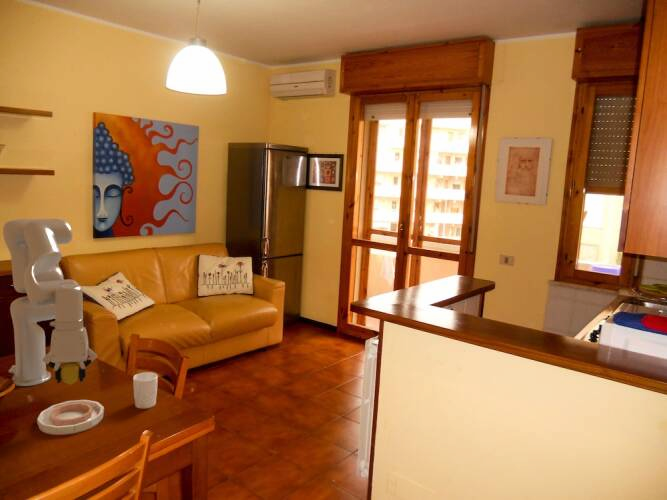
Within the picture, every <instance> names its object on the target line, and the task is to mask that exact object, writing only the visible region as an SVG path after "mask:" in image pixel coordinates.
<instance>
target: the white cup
mask: <svg viewBox="0 0 667 500" xmlns="http://www.w3.org/2000/svg"><path fill="white" fill-rule="evenodd" d="M158 377H159V375H158V374H157V373H156V372H154V371H153V372H152V371H151V372H150V371H146V372H145V371H144V372H140V373H136V374H135V375H134V376H133V377H132V380H133V381H132V382H133V396H134V406H135V408H137V409H150V408H152V407H155V406H156V404H157V395H158V394H157V393H158V382H159V380H158Z"/></svg>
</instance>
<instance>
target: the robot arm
mask: <svg viewBox="0 0 667 500" xmlns="http://www.w3.org/2000/svg"><path fill="white" fill-rule="evenodd" d="M2 234H3V240H4V243H5V244H6V246H7V249H8V251H9V254H10V259H11V260H10V261H11V267H12V268H11V270H12V271H11V273H12V281H13V282H12V284H13V287H14V290H15V291H16V292H17V293H20V294H21V293H22V294H25V293H26V296H22V297H18V298H15V300H13V301H11V303H10V307H9V310H10V315H11V319H12V325H13V332H14V333H13V335H14V350H15V351H14V356H15V365H11V367H10V369H8V373H10V374H13V376H12V377H11V379H12V380H13V381H14V383H15V384H16V385H15V386H17V387H30V386H32V387H33V386H37V385H40V384H44V383H45V382H48V381H49V380H50V379H51V377H52V374H51V372H50V371H47V366H46V365H48V366H49V367H50V368H51V369H52V370H53V371H54V378H55V379H54V380H56V381H57V384H60V383H61V382H62V381H63V380H62V379H61V368H62V366H61V364H65V363H70V362H77V363H78V364H79V366H80V377H79V382H81V383H83V381H84V379H85V378H86V377H87V367H88V366H90V364H91V363H92V362H93V361H95V360H96V359H97V358H98V354H97V353H95V352H94V351H93V349H91V348H90V346H89V337H88V332H87V329H86V327H85V326H84V307H83V306H84V305H83V303H84V301H83V299H84V298H83V295H84V294H83V293H84V292H83V287H82V286H81V285H80V284H79V283H78V282H77V281H76V280H74V279H71V278H70V279H68V278H67V279H64V274H63V271H62V269H61V267H59V266H58V264H59V263H60V261H61V260H62V257H63V256H62V254H63V253H62V251H61V249H60V246H59V245H65V244H69V243H70V242H71V241H72V239H73V229H72V227H71V225H70V223H69V222H68V221H67V220H65V219H57V218H23V219H22V218H21V219H20V218H19V219H13V220H8V221H7V222H6V223H4V225H3V227H2ZM54 319H55V320H54ZM50 320H52V321H50ZM42 321H50V322H49V326H50V327H54V329H53V330H52V333H51V336H50V337H51V339H50V350H49V351H48V353H46V335H45V334H46V333H45V330H44V328H43V327H41V326H40V325H39V324H37V323H38V322H42ZM88 356H89V358H88Z"/></svg>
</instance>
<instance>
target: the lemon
mask: <svg viewBox="0 0 667 500" xmlns="http://www.w3.org/2000/svg"><path fill="white" fill-rule="evenodd" d="M80 368H81V366H80V364H79V362H70V363H63V365H62V366H61V379H62V380H61V381H62V382H63V383H65V384H68V385H70V386H72V385H73V384H74V383H76V382H77V381H79V380H80Z"/></svg>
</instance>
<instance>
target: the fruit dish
mask: <svg viewBox="0 0 667 500" xmlns="http://www.w3.org/2000/svg"><path fill="white" fill-rule="evenodd" d="M104 411H105V406H103V405H102V404H101V403H100V402H98V401H94V400H88V399H79V400H77V399H76V400H67V401H63V402H61V403H57V404H53V405H51V406H49V407H47V408H46V409H44V410H42V411H41V412H40V414H39V415H38V417H37V421H36V423H37V425H38V429H39V430H40V431H41V432H42V433H44V434H48V435H52V436H53V435H55V436H65V435H66V436H67V435H74V434H77V433H81V432H85V431H87V430H89V429H91V428H94V427H95V426H97V425H98V424H99V423H101V421H102V420H103V418H104V413H105V412H104Z"/></svg>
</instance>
